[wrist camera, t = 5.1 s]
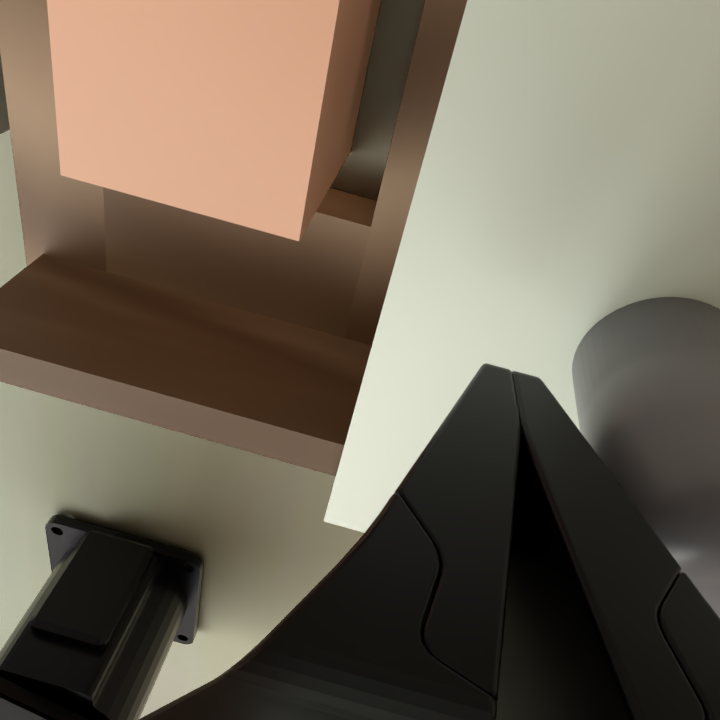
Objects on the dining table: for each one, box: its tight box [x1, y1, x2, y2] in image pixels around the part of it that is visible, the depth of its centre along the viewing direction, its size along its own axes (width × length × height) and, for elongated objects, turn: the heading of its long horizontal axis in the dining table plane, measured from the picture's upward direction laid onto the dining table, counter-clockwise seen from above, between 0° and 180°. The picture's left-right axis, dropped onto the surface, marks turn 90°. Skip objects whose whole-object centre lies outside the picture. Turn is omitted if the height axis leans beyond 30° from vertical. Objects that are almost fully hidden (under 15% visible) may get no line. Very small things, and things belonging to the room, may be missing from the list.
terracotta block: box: [47, 0, 381, 241], centre depth 12 cm, size 4×4×5 cm
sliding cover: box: [324, 0, 720, 618], centre depth 9 cm, size 12×9×5 cm
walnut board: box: [0, 0, 467, 476], centre depth 12 cm, size 16×22×5 cm
